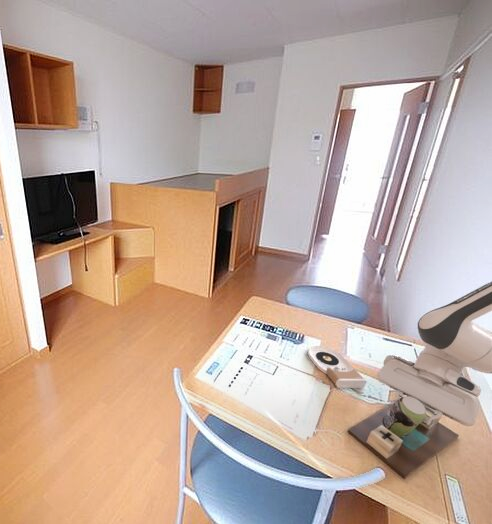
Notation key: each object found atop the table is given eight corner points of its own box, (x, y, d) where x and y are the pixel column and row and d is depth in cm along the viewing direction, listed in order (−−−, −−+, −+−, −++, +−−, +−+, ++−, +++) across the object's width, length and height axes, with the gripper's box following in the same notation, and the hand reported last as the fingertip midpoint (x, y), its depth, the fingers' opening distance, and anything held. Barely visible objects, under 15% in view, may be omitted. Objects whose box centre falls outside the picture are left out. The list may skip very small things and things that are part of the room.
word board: (400, 400, 95) (405, 388, 93) (457, 437, 84) (465, 424, 82) (347, 431, 85) (352, 418, 83) (404, 479, 73) (411, 465, 71)
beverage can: (393, 417, 88) (407, 387, 83) (418, 440, 81) (436, 410, 76) (374, 421, 87) (388, 391, 81) (399, 446, 80) (416, 415, 75)
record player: (335, 380, 99) (303, 342, 117) (332, 388, 100) (302, 349, 118) (370, 380, 99) (333, 342, 117) (367, 387, 100) (331, 349, 119)
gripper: (388, 348, 88) (365, 389, 87) (490, 392, 73) (464, 443, 71) (389, 355, 92) (367, 394, 91) (485, 398, 77) (461, 446, 76)
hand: (411, 416), depth 81 cm, fingers open, 5 cm apart
